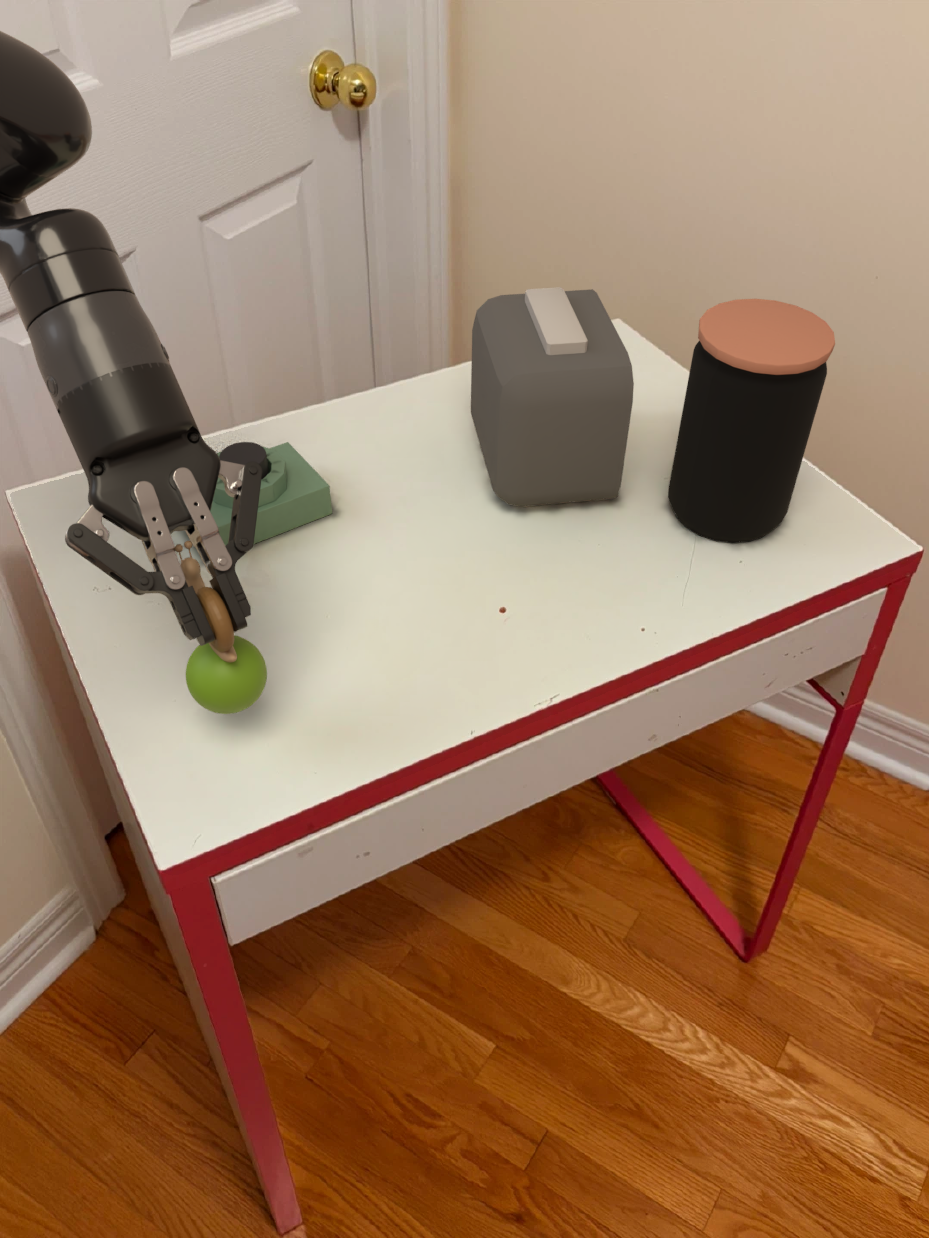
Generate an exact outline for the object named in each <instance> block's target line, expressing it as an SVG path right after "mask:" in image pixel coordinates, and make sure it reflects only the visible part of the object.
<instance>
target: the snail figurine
mask: <svg viewBox="0 0 929 1238" xmlns="http://www.w3.org/2000/svg"><path fill="white" fill-rule="evenodd" d="M174 546H175V552H176V553H178V555H179V559H180V566H181V568H182V571H183V574H184V576H185V580H186V582H187V585H188V587H190V586H193V588H194V590H195V592H196V595H197V597H198V599H199V602H200V604H201V606H202V608H203V611H204V613H205V615H206V618H207V620H208V622H209V624H210V627H211V629H212V631H213V634H214V636H215V641H212V642H210V643H207V644H205V645H203V646H201V645H200V644H199V645H197V646H196V648H195V649H194V650H193V651H192V653H191V654H190V656H189V658H188V661H187V663H186V666H185V682H186V687H187V689H188V692H189V693H190V696H191V697H192V698H193V700H194V701H195V702H196V703H197V704H198V705H200V706H201V707H202V708H203V709H205V710H207V711H210V712H212V713H215V714H218V715H219V714H220V715H231V714H237V713H240V712H243V711H245V710H247V709H248V708H250V707H251V706H253V704H255V703H256V702H257V701H258V700H259V698H260V697H261V695H262V694H263V692H264V690H265V688H266V684H267V683H266V682H267V678H268V671H267V670H268V669H267V665H266V660H265V658H264V656H263V654H262V652H261V651H260V649H259V648H257V646H256V645H255V644H253V642H251V641H250V640H248V639H246V638H244V637H242V636H238V635H235V632H234V630H233V626H232V622H231V619H230V616H229V613H228V611H227V609H226V606H225V604H224V602H223V600H222V599H221V597H220V595H219V594H218V593H217V591H216V590H214V589H213V588H212V586H206V584H205V582H204V580H203V577H202V574H201V570H202V569H201V565H200V563H199V561H198V560H197V559H195V558H194V557H193V555H192V553H191V549H192V548H193V547H194V546H193V544H192V542H191V541H190V540H185V541H184V543H183V545H182V544H181V543H177V544H176V545H174ZM184 548H185V549H187V550H188V553H189V557H185V558H182V557H183V556H182V554H181V553H182V552H183V550H184Z"/></svg>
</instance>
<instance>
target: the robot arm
mask: <svg viewBox="0 0 929 1238" xmlns="http://www.w3.org/2000/svg"><path fill="white" fill-rule="evenodd" d="M85 101H86V100H85V99H84V98H83V96H82V94H81V92H80V91H79V89H78V88H77V86H76V84H75V83H74V81H72V80H71V78H69V76H68V75H67V74H66V73H65V72H64V71H63V70H62V69H61V68H60V67H59V66H58V65H57V64H56V63H54V62H53V61H52V60H50V59H49V57H47V56H46V55H44V54H43V53H41V52H40V51H39V50H37V49H36V48H34V47H32V46H31V45H29V44H27V43H25V42H24V41H21V40H19V39H18V38H16V37H14V36H12V35H10V34H8V33H6V32H4V31H2V30H0V275H1V277H2V280H3V281H4V283H5V285H6V288H7V290H8V293H9V295H10V298H11V299H12V302H13V304H14V306H15V309H16V311H17V313H18V315H19V318H20V320H21V322H22V324H23V326H24V329H25V332H26V333H27V337H28V339H29V341H30V344H31V347H32V351H33V354H34V358H35V361H36V365H37V367H38V370H39V372H40V375H41V378H42V379H43V382H44V384H45V386H46V389H47V391H48V393H49V395H50V398H51V400H52V402H53V404H54V407H55V409H56V411H57V413H58V415H59V418H60V420H61V422H62V426H63V427H64V429H65V431H66V434H67V436H68V438H69V440H70V444H71V445H72V448H73V450H74V452H75V454H76V456H77V459H78V461H79V463H80V465H81V468H82V470H83V472H84V474H85V476H86V480H87V483H88V492H87V501H88V504H89V507H88V508H87V510H85V512H84V513H83V514H82V515H81V516H80V518H79V519H78V521H77V522H75V523H72V524H71V525H70V526H69V527H68V529H67V530H66V533H65V535H64V541H65V544H66V546H67V547H68V548H70V549H71V550H72V551H74V552H75V553H77V554H78V555H80V557H82V558H84V559H85V560H87V561H88V562H89V563H91V564H92V565H93V566H95V567H96V568H98V569H99V570H100V571H102V572H103V573H104V574H106V575H108V576H109V577H110V578H112V579H113V580H114V581H116V582H117V583H118V584H120V585H121V586H122V587H124V588H125V589H127V591H130V592H131V593H132V594H134V595H135V596H143V595H146V594H149V595H150V594H159V595H160V594H161V595H163V596H164V597H165V598H166V599H167V600H168V601H169V604H170V607H171V609H172V611H173V613H174V615H175V617H176V620H177V623H178V624H179V626H180V629H181V631H182V634H183V635H184V636H185V637H186V638H187V640H188V641H192V640H194V639H196V641H197V642H198V644H199V645H201V646H203V645H205V644H207V643H210V642H212V641H215V636H214V634H213V631H212V629H211V627H210V624H209V622H208V620H207V618H206V615H205V613H204V611H203V608H202V606H201V604H200V602H199V599H198V597H197V595H196V592H195V590H194V588H193V586H190V587H188V585H187V582H186V580H185V576H184V574H183V571H182V568H181V566H180V564H181V562H180V560H179V557H178V555H177V552H176V551H175V546H176V545H175V543H174V540H173V537H172V535H171V534H173V533H174V532H182V531H183V532H184V531H185V533H186V535H187V537H188V539H189V541H191V542H192V544H193V546H192V547H194V548H195V549H196V551H197V554H198V555H199V557H200V560H201V561H202V564H203V565H204V567H205V570H206V571H207V572H208V574H210V576H211V579H209V581H208V582H209V584H210V587H211V588H213V589H214V590H216V591H217V593H218V594H219V595H220V597H221V599H222V600H223V602H224V604H225V606H226V609H227V611H228V613H229V616H230V619H231V622H232V626H233V630H234V633H236V632H238V631H241V630H243V629H245V628H247V627H248V621H247V619H246V618H248V617H250V616H251V615H252V611H251V604H250V602H249V600H248V597H247V596H246V593H245V590H244V588H243V586H242V583H241V582H240V579H239V577H238V575H237V573H236V565H237V563H238V561H239V560H240V559H241V558H242V557H244V556H245V555H246V554H247V553H248V552H249V551H251V550H252V549H253V547H254V545H255V544H254V537H255V528H256V520H257V512H258V504H259V495H260V487H261V479H262V467H261V466H260V464H258V463H257V462H254V461H251V462H248V463H247V464H246V465H242V464H237V463H232V462H227V461H222V460H220V458H219V456H218V454H217V453H218V452H216V451H215V450H214V449H213V448H211V446H209V445H208V444H207V443H206V441H205V440H204V438H203V437H202V435H201V431H200V430H199V427H198V425H197V422H196V421H195V418H194V415H193V413H192V410H191V408H190V406H189V404H188V402H187V400H186V398H185V394H184V392H183V391H182V388H181V386H180V383H179V382H178V379H177V377H176V374H175V372H174V370H173V368H172V365H171V362H170V356H169V354H168V351H167V349H166V347H165V346H164V345H163V343H162V342H161V340H160V336H159V335H158V333H157V331H156V329H155V327H154V325H153V323H152V321H151V320H150V318H149V317H148V315H147V313H146V311H145V309H144V308H143V306H142V305H141V303H140V301H139V299H138V297H137V296H136V292H135V290H134V288H133V286H132V283H131V280H130V279H129V276H128V274H127V272H126V269H125V268H124V265H123V262H122V260H121V258H120V255H119V253H118V251H117V248H116V246H115V244H114V242H113V240H112V238H111V235H110V234H109V232H108V230H107V228H106V226H105V225H104V224H103V222H102V221H101V220H100V218H98V217H97V216H96V215H94V214H93V213H92V212H89V211H87V210H84V209H81V208H74V207H68V208H67V207H66V208H55V209H50V210H46V211H42V212H38V213H34V214H33V213H32V211H31V210H30V208H29V206H28V202H27V197H28V196H30V195H31V194H33V193H35V192H36V191H37V190H39V189H40V188H42V187H43V186H46V185H47V184H48V183H50V182H51V181H53V180H54V179H56V178H57V177H59V176H60V175H62V174H63V173H65V172H67V171H68V170H69V169H71V168H72V167H74V166H75V165H76V164H78V162H80V161H81V160H82V159H83V158H84V156H85V155H86V154H87V152H88V151H89V148H90V146H91V142H92V137H93V125H92V118H91V115H90V111H89V109H88V106H87V104H86V102H85ZM218 478H220V479H221V480H222V481H223V482H224V485H225V492H226V493H227V495H229V496H230V497H234V500H233V508H232V516H231V524H230V532H229V540H228V544H227V545H226V546H225V544H224V542H223V540H222V538H221V536H220V534H219V529H218V526H217V524H216V522H215V520H214V518H213V516H212V514H211V512H210V511H211V507H212V502H213V498H214V494H215V489H216V485H217V481H218ZM103 519H104V520H106V521H107V522H110V523H111V524H113V525H114V526H116V527H117V528H119V529H121V530H122V531H124V532H126V533H128V534H129V535H131V536H133V537H134V538H136V539H138V540H139V541H141V543H142V545H143V548H144V551H145V554H146V557H147V558H148V560H149V562H150V564H151V566H152V568H153V571H147V570H146V569H145V568H144V567H142V566H141V565H139V564H138V563H137V562H135V561H134V560H133V559H131V558H130V557H128V556H127V555H126V554H124V553H123V552H122V551H120V550H119V549H117V548H116V547H114V546H113V545H112V544H111V543H109V542H108V541H109V539H110V532H109V530H108V529H107V527H105V526H104V524H103Z"/></svg>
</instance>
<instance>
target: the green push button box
mask: <svg viewBox="0 0 929 1238" xmlns="http://www.w3.org/2000/svg"><path fill="white" fill-rule="evenodd" d="M261 446H262V447H263V448H264V449H265V451H266V455H267V461H268V468H269V471H268V474H267V475H266V477H264V478H263V479H262V480H261V487H260V495H259V504H258V512H257V520H256V528H255V537H254V544H253V545H255V544H258V543H260V542H263V541H266V540H268V539H271V538H274V537H276V536H278V535H281V534H284V533H286V532H289V531H291V530H294V529H296V528H299V527H301V526H302V527H303V526H304V525H306V524H310V523H312V522H314V521H317V520H320V519H322V518H325V517H327V516H330V515H332V514H333V507H332V497H331V488H330V484H329V483H328V482H327V481H326V480H325V479H324V478H323V477H322V476H321V475H320V474H319V473H318V472H317V470H315V469H314V467H313V466H312V465H311V464H310V463H309V462H308V461H307V460H306V459H305V458H304V457H303V455H301V454H300V453H299V452H298V451H297V449H296V448H294V446H292V444H291V443H290V442H289V441H287V442H284V443H281V444H278V445H275V446H272V447H267V446H263V445H261ZM216 453H217V454H218V456H219V455H220V453H221V451H217V452H216ZM233 500H234V497H230V496H229V495H227V493H226V492H225V485H224V482H223V481H222V480H221V479H220V478H218V481H217V485H216V489H215V494H214V498H213V502H212V507H211V511H210V512H211V514H212V516H213V518H214V520H215V522H216V524H217V526H218V529H219V534H220V536H221V538H222V540H223V542H224V544H225V546H226V545H227V544H228V540H229V532H230V524H231V516H232V508H233Z"/></svg>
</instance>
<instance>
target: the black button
mask: <svg viewBox="0 0 929 1238" xmlns="http://www.w3.org/2000/svg"><path fill="white" fill-rule="evenodd" d="M262 446H263V445H261V444H259V443H257V442H251V441H241V442H239V441H238V442H235V443H232V444H230V445H227V446H225V447H224V448H223V449H222V450H221V451H220V452H221V453H220V455H219V458H220V460H222V461H227V462H232V463H237V464H242V465H246V464H247V463H248V462H251V461H254V462H257V463H258V464H260V466H261V467H262V479H263V478H264V477H266V475H267V474H268V471H269V468H268V461H267V455H266V451H265V449H264V448H263V447H264V446H263V447H262ZM262 479H261V480H262Z"/></svg>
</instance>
